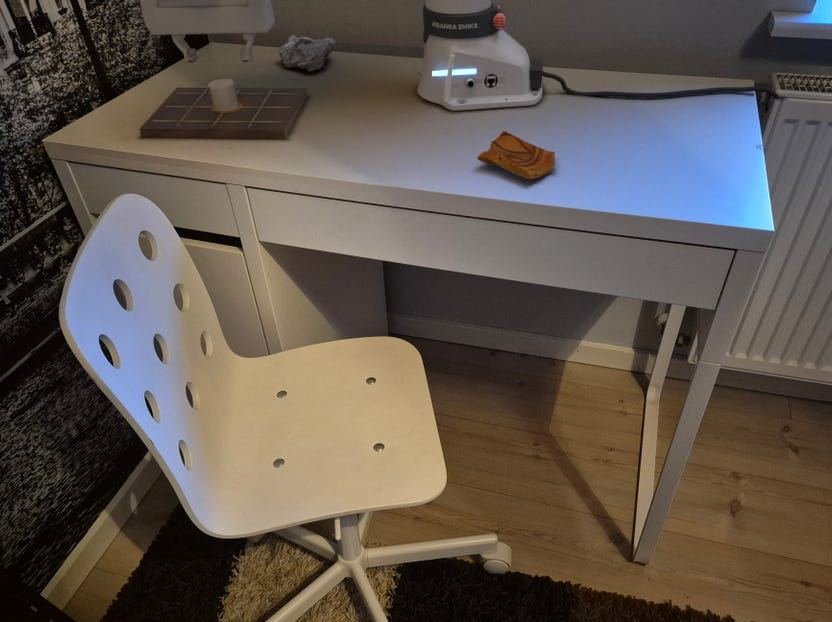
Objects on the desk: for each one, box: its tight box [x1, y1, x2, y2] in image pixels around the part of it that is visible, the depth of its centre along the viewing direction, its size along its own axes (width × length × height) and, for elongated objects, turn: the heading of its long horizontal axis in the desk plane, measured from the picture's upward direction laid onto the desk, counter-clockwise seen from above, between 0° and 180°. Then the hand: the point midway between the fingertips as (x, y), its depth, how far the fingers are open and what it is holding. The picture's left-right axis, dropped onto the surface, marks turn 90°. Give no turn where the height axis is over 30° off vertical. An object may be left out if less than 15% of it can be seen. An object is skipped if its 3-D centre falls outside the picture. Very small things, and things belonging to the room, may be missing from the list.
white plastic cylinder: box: [207, 78, 239, 112], centre depth 113 cm, size 4×4×4 cm
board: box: [139, 87, 308, 140], centre depth 115 cm, size 24×18×2 cm
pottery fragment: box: [477, 130, 556, 180], centre depth 97 cm, size 10×5×10 cm
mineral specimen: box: [277, 34, 337, 72], centre depth 132 cm, size 6×11×12 cm
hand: (219, 61), depth 109 cm, fingers open, 8 cm apart
